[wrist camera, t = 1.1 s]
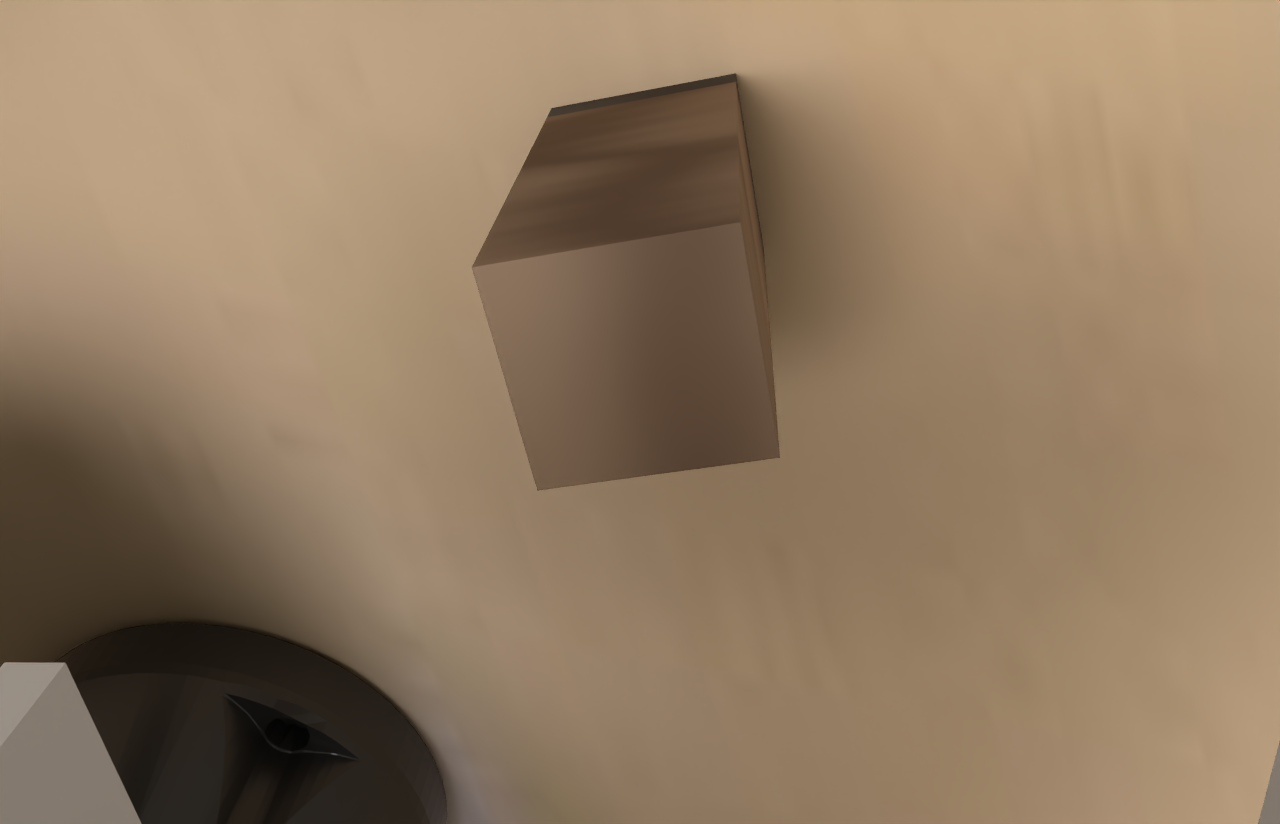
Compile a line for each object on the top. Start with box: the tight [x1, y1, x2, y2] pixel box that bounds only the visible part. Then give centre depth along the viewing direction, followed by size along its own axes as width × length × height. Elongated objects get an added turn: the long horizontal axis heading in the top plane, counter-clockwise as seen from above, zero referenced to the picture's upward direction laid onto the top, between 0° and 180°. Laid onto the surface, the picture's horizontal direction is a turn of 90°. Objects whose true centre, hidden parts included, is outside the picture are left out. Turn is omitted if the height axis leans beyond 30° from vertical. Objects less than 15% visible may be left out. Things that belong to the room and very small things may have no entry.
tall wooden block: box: [472, 74, 780, 490], centre depth 24 cm, size 4×4×10 cm
